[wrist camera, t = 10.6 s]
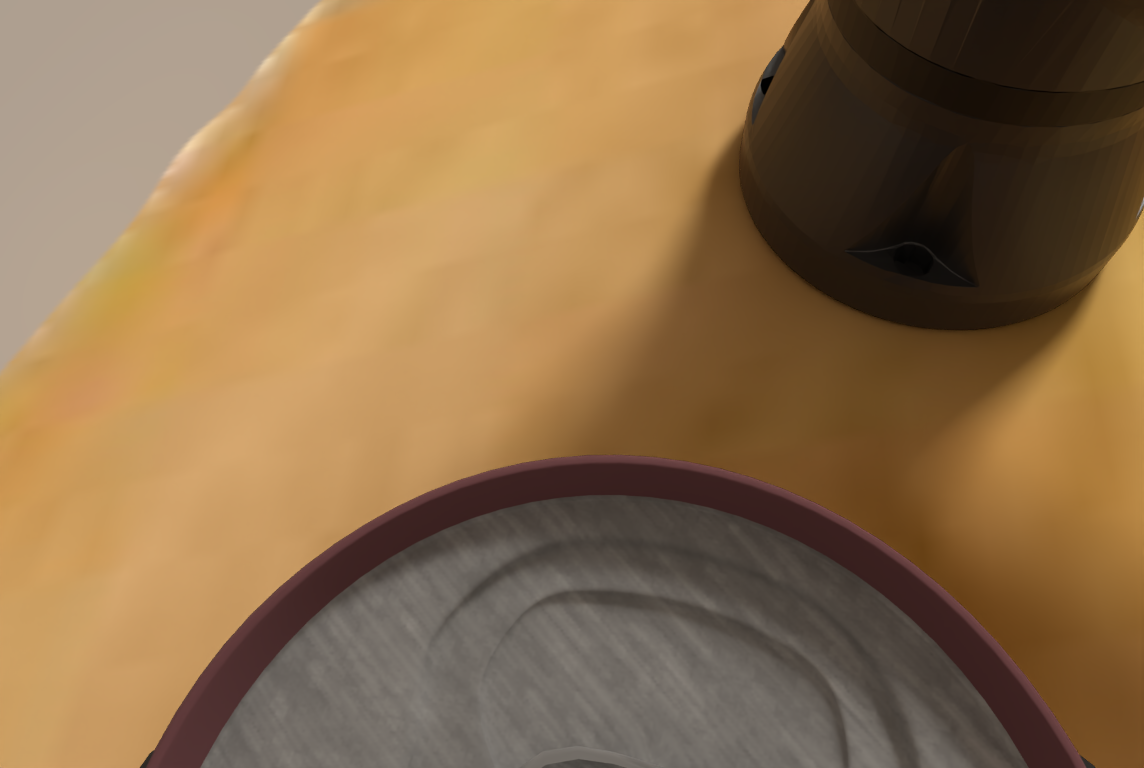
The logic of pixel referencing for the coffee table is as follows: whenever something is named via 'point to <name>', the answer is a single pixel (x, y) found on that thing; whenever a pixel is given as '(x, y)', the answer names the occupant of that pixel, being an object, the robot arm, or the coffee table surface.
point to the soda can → (612, 640)
